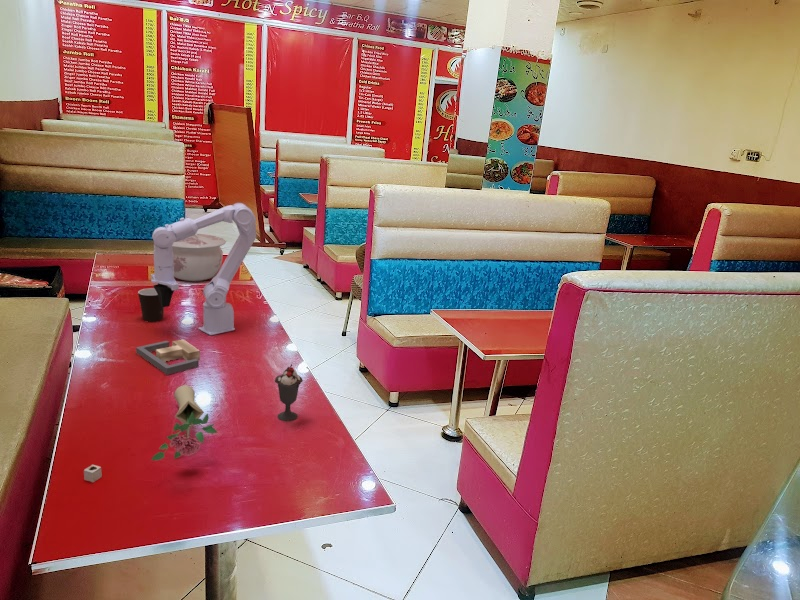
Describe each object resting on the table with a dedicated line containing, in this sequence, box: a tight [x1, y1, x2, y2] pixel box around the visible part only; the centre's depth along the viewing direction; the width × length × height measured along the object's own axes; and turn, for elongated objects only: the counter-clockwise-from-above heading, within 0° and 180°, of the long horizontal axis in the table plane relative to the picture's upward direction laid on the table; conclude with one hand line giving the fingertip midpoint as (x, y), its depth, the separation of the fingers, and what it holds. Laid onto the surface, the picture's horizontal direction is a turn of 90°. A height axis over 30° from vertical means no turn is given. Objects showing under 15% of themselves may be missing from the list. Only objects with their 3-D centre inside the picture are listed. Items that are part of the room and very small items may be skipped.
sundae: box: [274, 363, 304, 422], centre depth 139 cm, size 7×7×15 cm
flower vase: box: [151, 384, 218, 462], centre depth 127 cm, size 12×12×35 cm
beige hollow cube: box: [83, 464, 103, 483], centre depth 112 cm, size 2×2×2 cm
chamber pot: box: [172, 233, 227, 282], centre depth 249 cm, size 28×28×21 cm
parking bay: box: [135, 340, 200, 376], centre depth 167 cm, size 10×19×2 cm, turn 48°
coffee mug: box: [137, 287, 165, 323], centre depth 198 cm, size 12×9×10 cm
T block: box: [155, 339, 201, 363], centre depth 169 cm, size 10×11×3 cm
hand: (165, 306), depth 184 cm, fingers closed
